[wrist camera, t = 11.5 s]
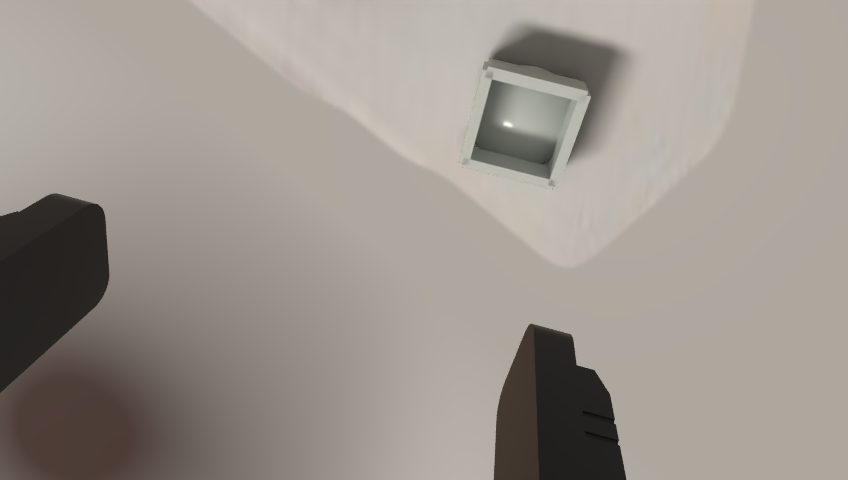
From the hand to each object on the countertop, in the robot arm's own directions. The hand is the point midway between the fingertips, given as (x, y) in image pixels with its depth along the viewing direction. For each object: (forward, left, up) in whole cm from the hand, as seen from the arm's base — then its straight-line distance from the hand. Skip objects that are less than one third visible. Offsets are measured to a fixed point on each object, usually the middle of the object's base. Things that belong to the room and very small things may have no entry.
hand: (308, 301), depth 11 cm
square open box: (+6, +6, -36) cm, 37 cm away
